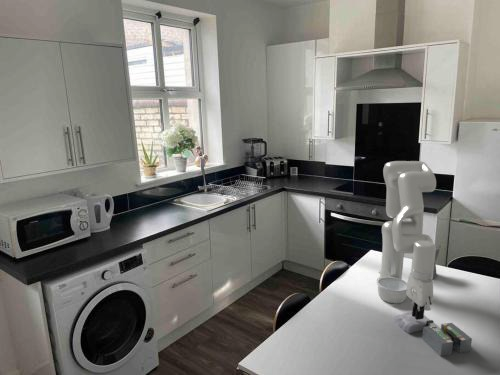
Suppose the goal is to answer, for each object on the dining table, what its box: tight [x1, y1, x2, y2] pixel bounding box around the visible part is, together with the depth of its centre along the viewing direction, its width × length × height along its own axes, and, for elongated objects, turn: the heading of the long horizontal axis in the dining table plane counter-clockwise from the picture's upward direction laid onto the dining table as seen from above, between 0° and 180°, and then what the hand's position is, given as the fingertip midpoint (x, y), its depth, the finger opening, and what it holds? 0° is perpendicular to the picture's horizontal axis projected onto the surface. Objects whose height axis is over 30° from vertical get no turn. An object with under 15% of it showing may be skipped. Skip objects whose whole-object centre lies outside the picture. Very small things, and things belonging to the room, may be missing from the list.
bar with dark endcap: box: [426, 319, 452, 340], centre depth 142 cm, size 11×2×6 cm, turn 12°
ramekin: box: [376, 277, 408, 304], centre depth 171 cm, size 13×13×7 cm
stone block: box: [394, 311, 430, 334], centre depth 151 cm, size 12×5×10 cm
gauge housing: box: [421, 322, 473, 357], centre depth 138 cm, size 10×12×5 cm
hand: (417, 317), depth 147 cm, fingers closed
